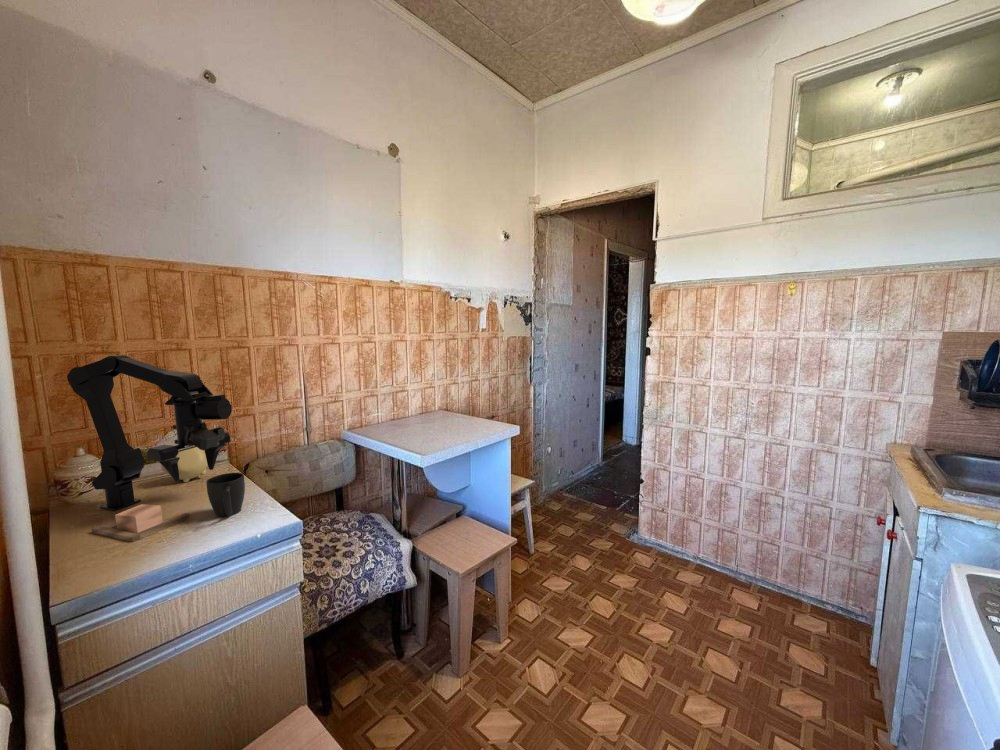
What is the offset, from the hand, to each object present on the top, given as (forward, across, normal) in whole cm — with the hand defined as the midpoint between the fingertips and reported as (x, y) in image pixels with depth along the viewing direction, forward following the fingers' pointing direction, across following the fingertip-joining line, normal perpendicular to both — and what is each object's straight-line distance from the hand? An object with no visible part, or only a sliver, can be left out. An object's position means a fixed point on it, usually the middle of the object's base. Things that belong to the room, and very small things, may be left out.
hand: (194, 475), depth 112 cm
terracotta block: (+8, -14, 0) cm, 16 cm away
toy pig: (+8, +12, +22) cm, 27 cm away
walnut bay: (+8, -13, 0) cm, 15 cm away
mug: (+8, -3, -16) cm, 18 cm away
